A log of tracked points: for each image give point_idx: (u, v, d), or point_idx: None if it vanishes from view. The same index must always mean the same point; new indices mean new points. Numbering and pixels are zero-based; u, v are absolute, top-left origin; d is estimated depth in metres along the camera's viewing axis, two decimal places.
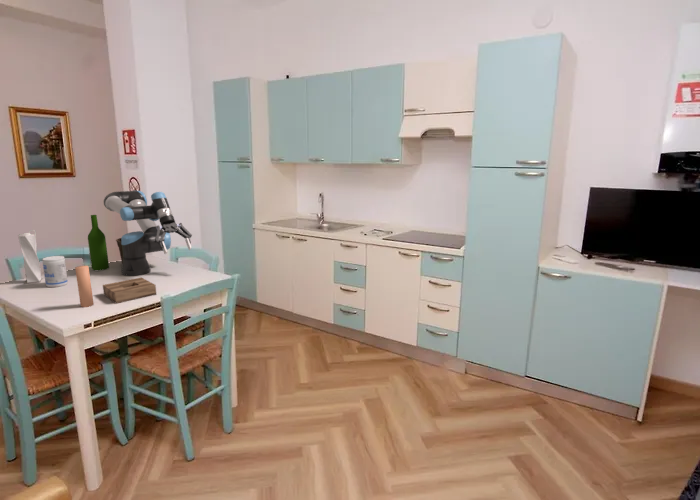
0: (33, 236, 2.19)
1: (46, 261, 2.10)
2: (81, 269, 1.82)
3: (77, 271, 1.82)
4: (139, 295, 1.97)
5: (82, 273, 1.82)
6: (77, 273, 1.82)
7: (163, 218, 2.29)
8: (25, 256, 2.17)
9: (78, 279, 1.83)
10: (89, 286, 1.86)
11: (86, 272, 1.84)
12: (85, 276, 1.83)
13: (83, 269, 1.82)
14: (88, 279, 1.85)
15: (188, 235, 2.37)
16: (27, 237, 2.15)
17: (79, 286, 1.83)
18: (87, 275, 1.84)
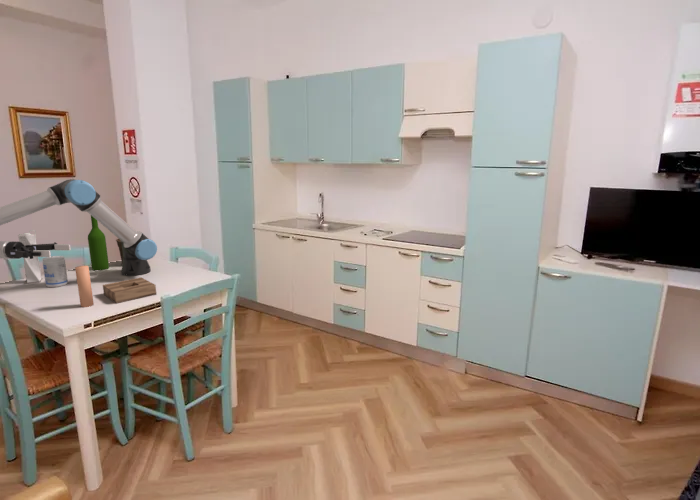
0: (33, 236, 2.19)
1: (46, 261, 2.10)
2: (81, 269, 1.82)
3: (77, 271, 1.82)
4: (139, 295, 1.97)
5: (82, 273, 1.82)
6: (77, 273, 1.82)
7: None
8: None
9: (78, 279, 1.83)
10: (89, 286, 1.86)
11: (86, 272, 1.84)
12: (85, 276, 1.83)
13: (83, 269, 1.82)
14: (88, 279, 1.85)
15: None
16: (27, 237, 2.15)
17: (79, 286, 1.83)
18: (87, 275, 1.84)
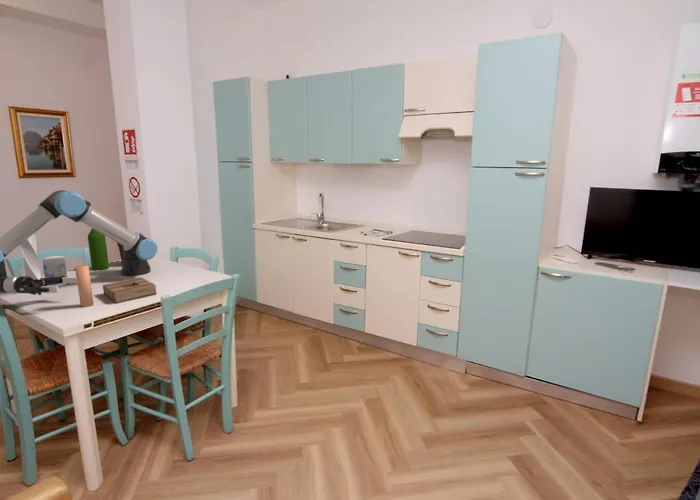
0: (33, 236, 2.19)
1: (46, 261, 2.10)
2: (81, 269, 1.82)
3: (77, 271, 1.82)
4: (139, 295, 1.97)
5: (82, 273, 1.82)
6: (77, 273, 1.82)
7: None
8: (25, 256, 2.17)
9: (78, 279, 1.83)
10: (89, 286, 1.86)
11: (86, 272, 1.84)
12: (85, 276, 1.83)
13: (83, 269, 1.82)
14: (88, 279, 1.85)
15: None
16: None
17: (79, 286, 1.83)
18: (87, 275, 1.84)
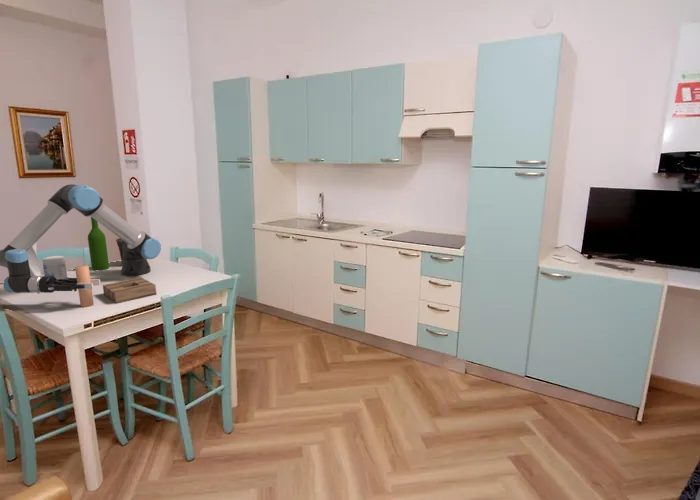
0: None
1: (46, 261, 2.10)
2: (81, 269, 1.82)
3: (77, 271, 1.82)
4: (139, 295, 1.97)
5: (82, 273, 1.82)
6: (77, 273, 1.82)
7: None
8: None
9: (78, 279, 1.83)
10: None
11: (86, 272, 1.84)
12: (85, 276, 1.83)
13: (83, 269, 1.82)
14: (88, 279, 1.85)
15: None
16: None
17: None
18: (87, 275, 1.84)
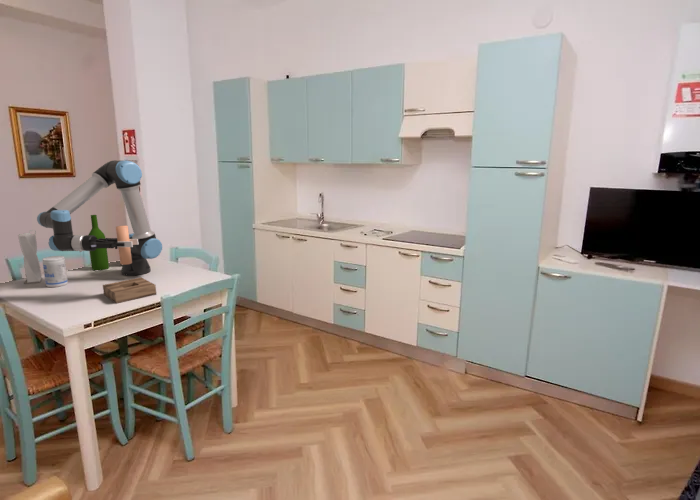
0: (33, 236, 2.19)
1: (46, 261, 2.10)
2: (121, 228, 1.93)
3: (118, 230, 1.93)
4: (139, 295, 1.97)
5: (122, 232, 1.94)
6: (118, 232, 1.93)
7: None
8: (25, 256, 2.17)
9: (118, 237, 1.94)
10: None
11: (126, 231, 1.95)
12: (125, 235, 1.95)
13: (123, 228, 1.93)
14: (127, 238, 1.96)
15: (109, 243, 1.91)
16: (27, 237, 2.15)
17: None
18: (127, 234, 1.95)
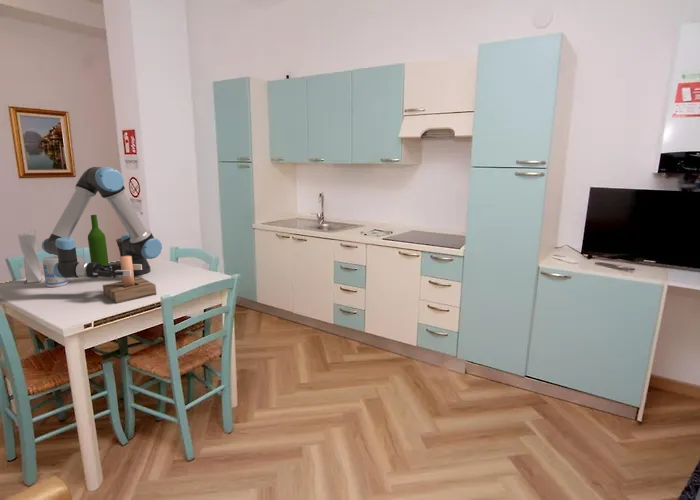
0: (33, 236, 2.19)
1: (46, 261, 2.10)
2: (125, 259, 1.96)
3: (122, 261, 1.96)
4: (139, 295, 1.97)
5: (126, 263, 1.96)
6: (122, 263, 1.96)
7: None
8: (25, 256, 2.17)
9: (122, 268, 1.97)
10: (132, 275, 2.00)
11: (130, 262, 1.97)
12: (129, 266, 1.97)
13: (127, 259, 1.96)
14: (131, 268, 1.99)
15: None
16: (27, 237, 2.15)
17: None
18: (130, 265, 1.98)
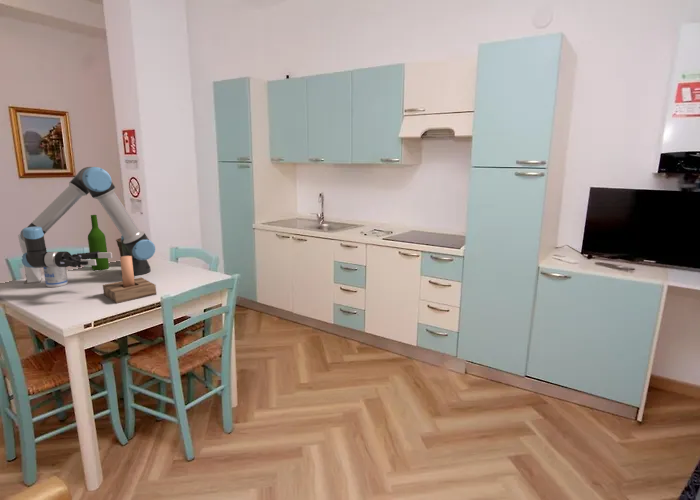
0: None
1: None
2: (126, 259, 1.96)
3: (122, 261, 1.96)
4: (139, 295, 1.97)
5: (126, 262, 1.97)
6: (122, 262, 1.97)
7: None
8: None
9: (123, 268, 1.97)
10: (132, 275, 2.00)
11: (130, 262, 1.98)
12: (129, 265, 1.98)
13: (127, 259, 1.97)
14: (131, 268, 1.99)
15: None
16: None
17: (123, 274, 1.98)
18: (131, 264, 1.99)
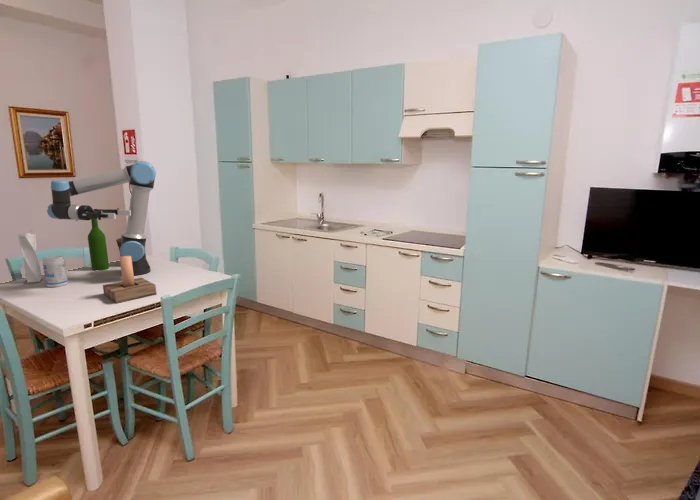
0: (33, 236, 2.19)
1: (46, 261, 2.10)
2: (125, 258, 1.97)
3: (121, 260, 1.97)
4: (139, 295, 1.97)
5: (126, 262, 1.97)
6: (121, 262, 1.97)
7: None
8: (25, 256, 2.17)
9: (122, 268, 1.97)
10: (132, 274, 2.00)
11: (129, 261, 1.98)
12: (129, 265, 1.98)
13: (127, 258, 1.97)
14: (131, 268, 1.99)
15: None
16: (27, 237, 2.15)
17: (123, 274, 1.98)
18: (130, 264, 1.99)
